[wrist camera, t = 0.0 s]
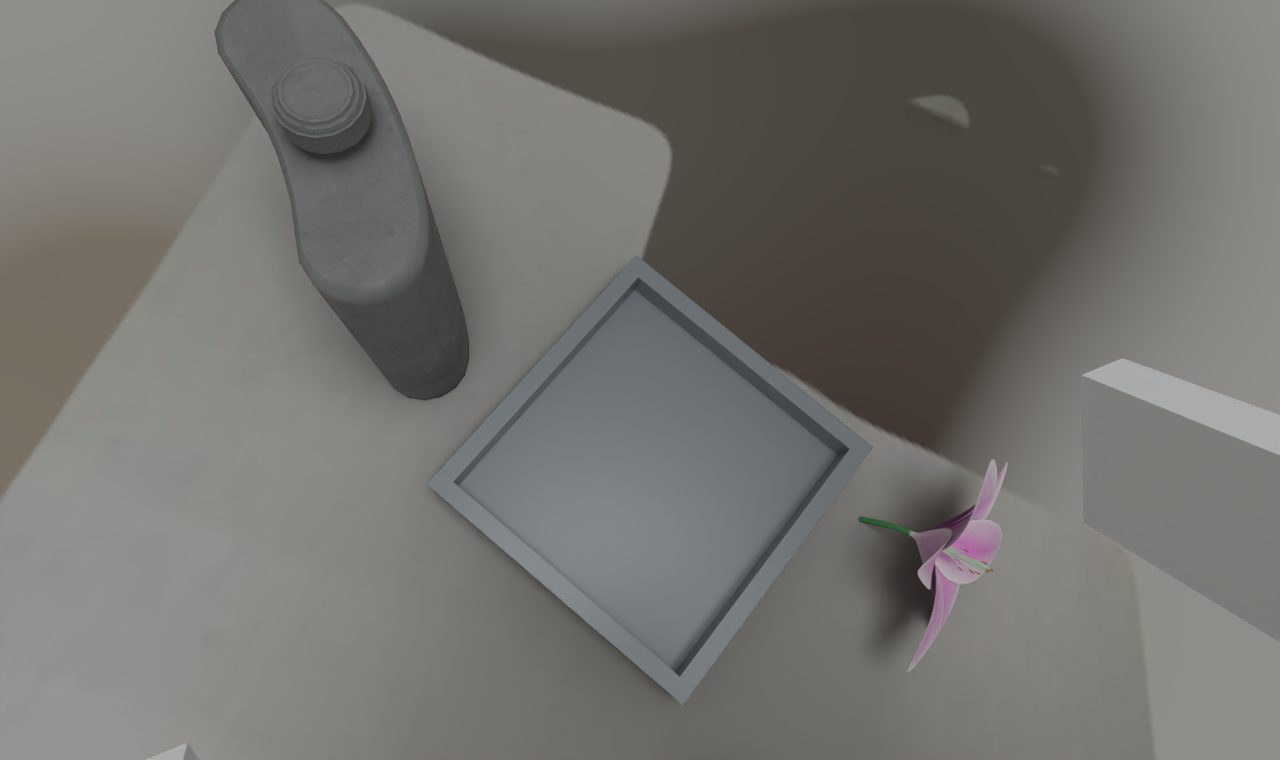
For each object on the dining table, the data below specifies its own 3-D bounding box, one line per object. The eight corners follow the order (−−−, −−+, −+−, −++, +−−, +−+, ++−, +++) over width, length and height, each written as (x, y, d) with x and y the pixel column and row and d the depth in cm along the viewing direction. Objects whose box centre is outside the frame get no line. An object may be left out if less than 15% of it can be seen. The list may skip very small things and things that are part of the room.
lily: (833, 672, 47) (980, 730, 39) (775, 494, 45) (918, 516, 37) (950, 570, 53) (1098, 602, 45) (904, 408, 51) (1051, 412, 43)
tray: (853, 455, 50) (873, 447, 47) (674, 697, 45) (682, 705, 42) (631, 274, 51) (636, 255, 48) (434, 490, 46) (426, 484, 43)
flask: (494, 376, 48) (457, 236, 29) (401, 413, 47) (299, 293, 28) (405, 168, 51) (318, -85, 32) (315, 198, 50) (169, -46, 31)
